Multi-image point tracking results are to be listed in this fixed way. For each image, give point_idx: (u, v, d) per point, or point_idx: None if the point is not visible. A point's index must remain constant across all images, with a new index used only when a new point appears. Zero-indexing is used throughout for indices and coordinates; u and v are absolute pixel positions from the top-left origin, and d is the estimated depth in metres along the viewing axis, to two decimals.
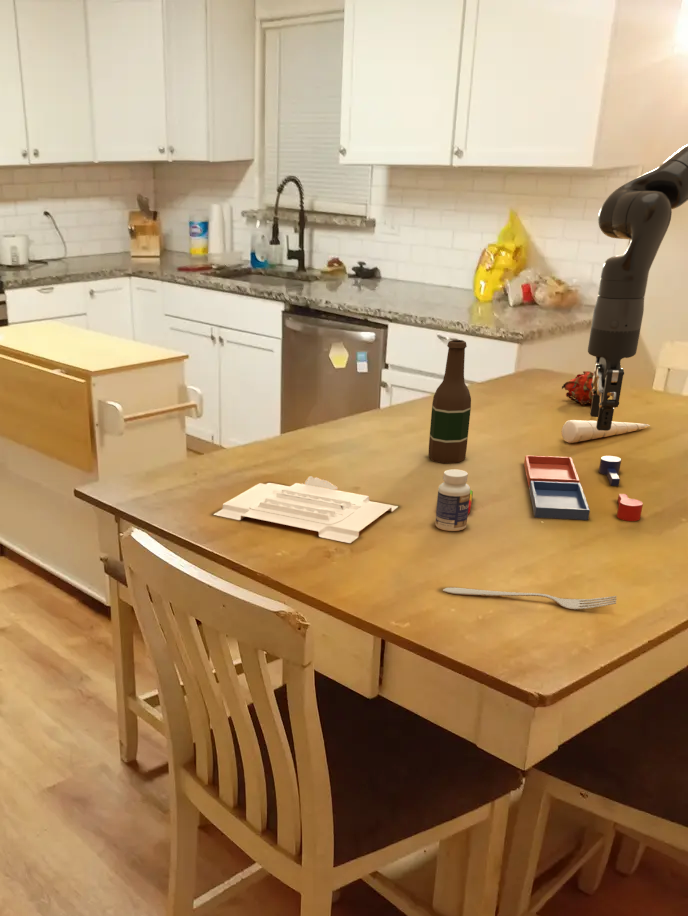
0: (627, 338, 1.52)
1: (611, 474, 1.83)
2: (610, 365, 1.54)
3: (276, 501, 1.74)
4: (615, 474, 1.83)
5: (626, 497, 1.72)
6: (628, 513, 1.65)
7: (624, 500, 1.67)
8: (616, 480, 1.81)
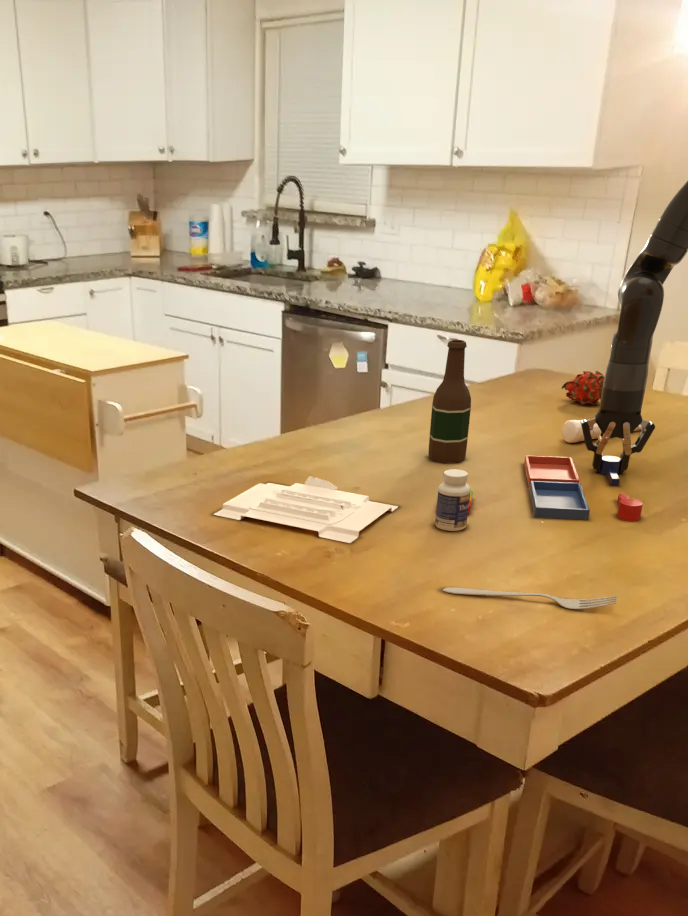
0: (605, 393, 1.81)
1: (611, 474, 1.83)
2: (598, 413, 1.84)
3: (276, 501, 1.74)
4: (615, 474, 1.83)
5: (626, 497, 1.72)
6: (628, 513, 1.65)
7: (624, 500, 1.67)
8: (616, 480, 1.81)
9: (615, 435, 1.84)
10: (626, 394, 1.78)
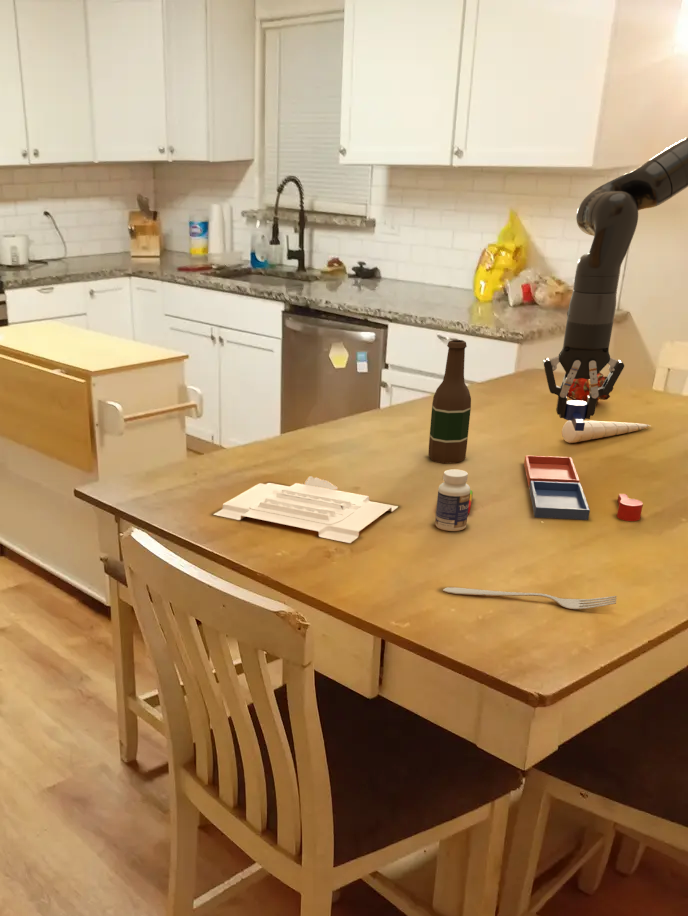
0: (568, 328, 1.63)
1: (576, 418, 1.66)
2: (561, 351, 1.67)
3: (276, 501, 1.74)
4: (580, 418, 1.66)
5: (626, 497, 1.72)
6: (628, 513, 1.65)
7: (624, 500, 1.67)
8: (581, 424, 1.63)
9: (580, 376, 1.67)
10: (591, 328, 1.60)
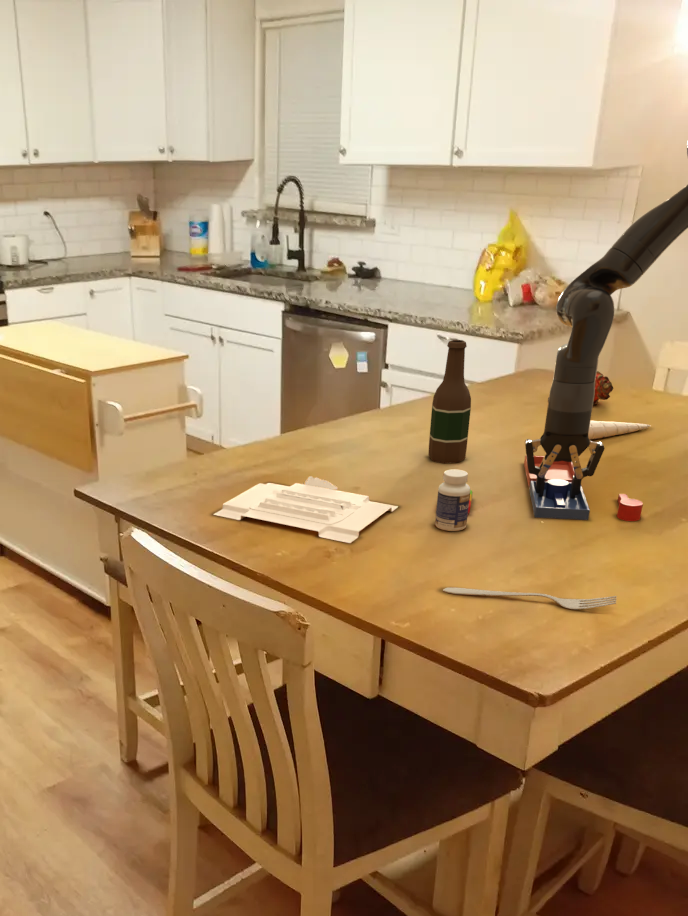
0: (549, 414, 1.68)
1: (557, 499, 1.71)
2: (543, 435, 1.72)
3: (276, 501, 1.74)
4: (561, 499, 1.71)
5: (626, 497, 1.72)
6: (628, 513, 1.65)
7: (624, 500, 1.67)
8: (561, 506, 1.69)
9: (561, 459, 1.72)
10: (571, 415, 1.65)
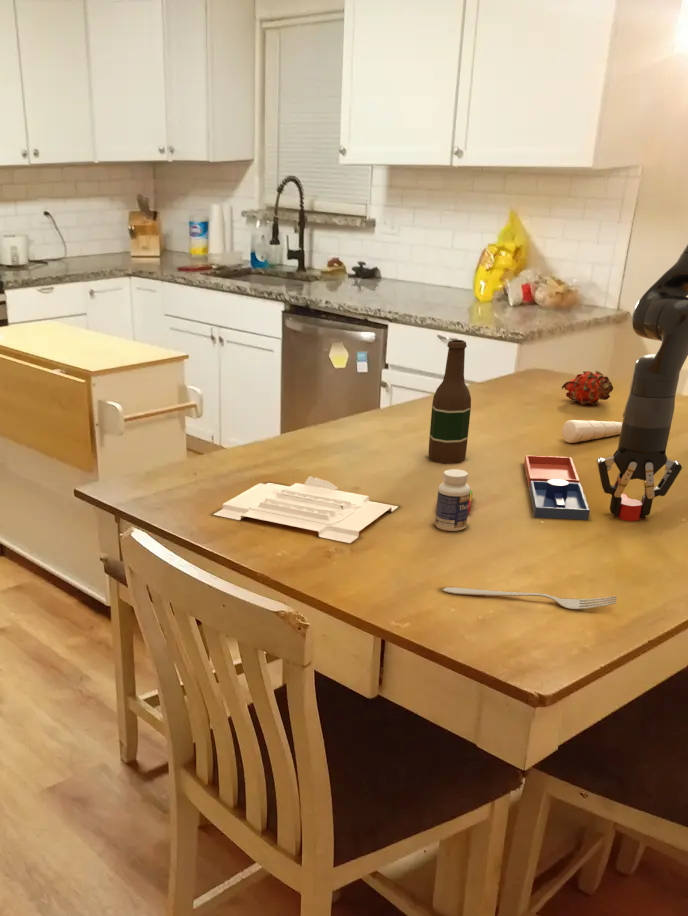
0: (625, 430, 1.59)
1: (557, 499, 1.71)
2: (616, 451, 1.63)
3: (276, 501, 1.74)
4: (561, 499, 1.71)
5: (626, 497, 1.72)
6: (628, 513, 1.65)
7: (624, 500, 1.67)
8: (561, 506, 1.69)
9: (636, 476, 1.63)
10: (649, 431, 1.56)
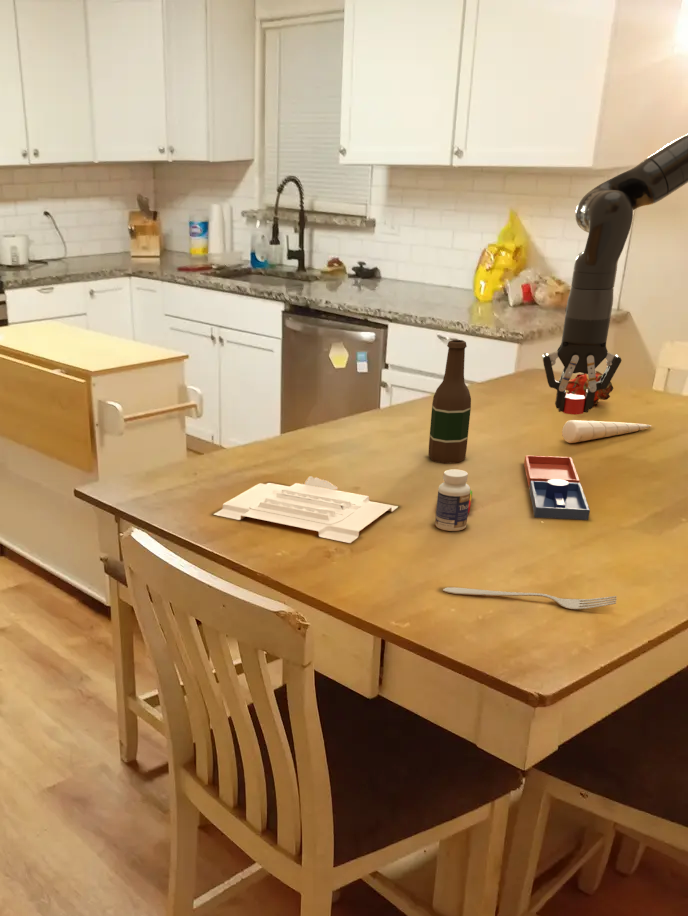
0: (567, 324, 1.67)
1: (557, 499, 1.71)
2: (560, 346, 1.71)
3: (276, 501, 1.74)
4: (561, 499, 1.71)
5: None
6: (572, 406, 1.73)
7: (568, 395, 1.75)
8: (561, 506, 1.69)
9: (579, 370, 1.71)
10: (589, 323, 1.64)
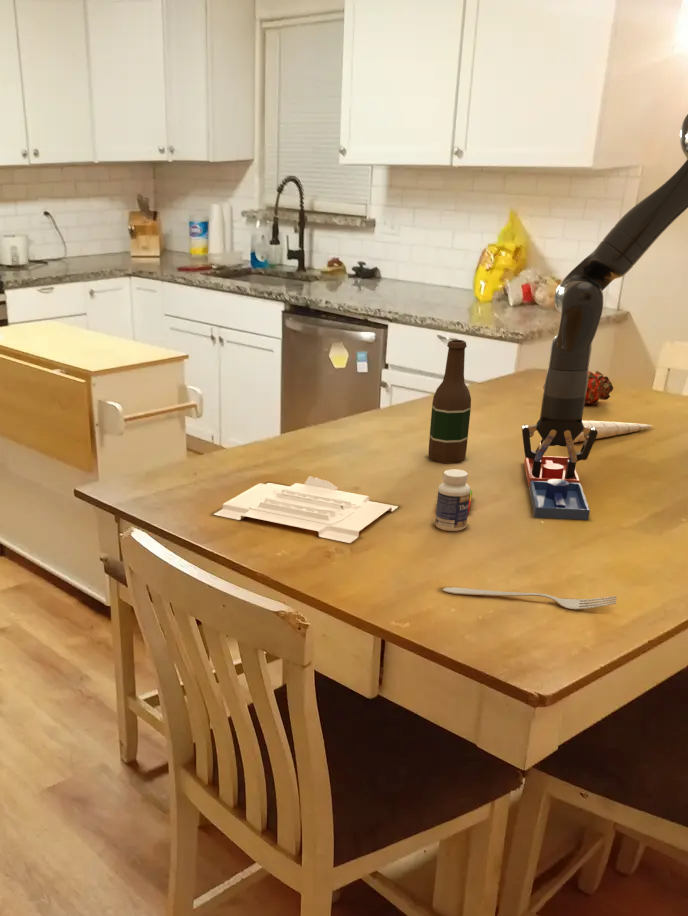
0: (544, 401, 1.76)
1: (557, 499, 1.71)
2: (539, 420, 1.80)
3: (276, 501, 1.74)
4: (561, 499, 1.71)
5: (551, 463, 1.89)
6: (550, 475, 1.82)
7: (547, 464, 1.84)
8: (561, 506, 1.69)
9: (556, 443, 1.80)
10: (565, 401, 1.74)
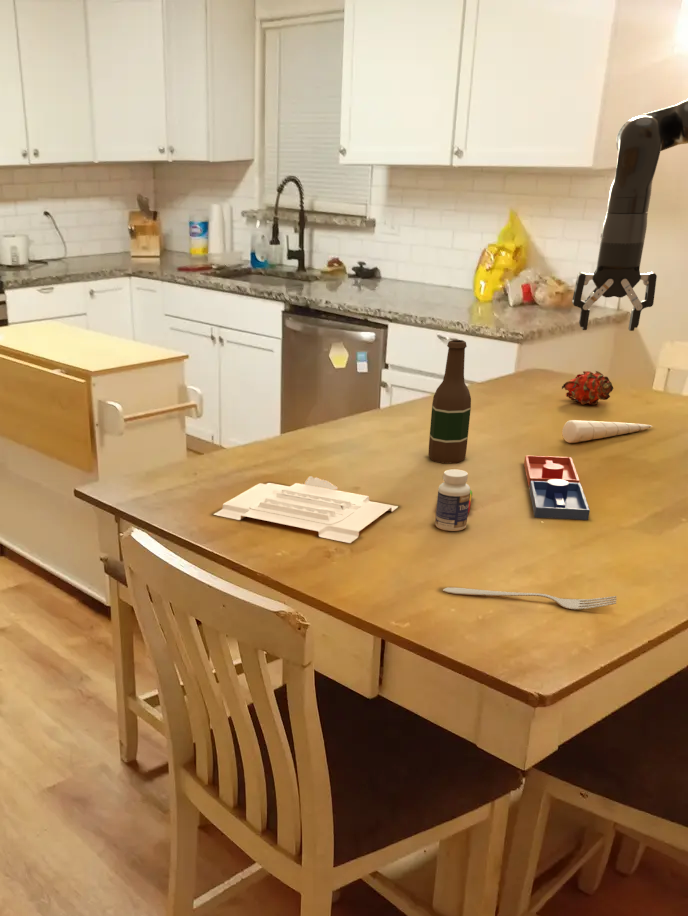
0: (602, 248, 1.75)
1: (557, 499, 1.71)
2: (595, 271, 1.79)
3: (276, 501, 1.74)
4: (561, 499, 1.71)
5: (551, 463, 1.89)
6: (550, 475, 1.82)
7: (547, 464, 1.84)
8: (561, 506, 1.69)
9: (613, 294, 1.79)
10: (624, 247, 1.72)
